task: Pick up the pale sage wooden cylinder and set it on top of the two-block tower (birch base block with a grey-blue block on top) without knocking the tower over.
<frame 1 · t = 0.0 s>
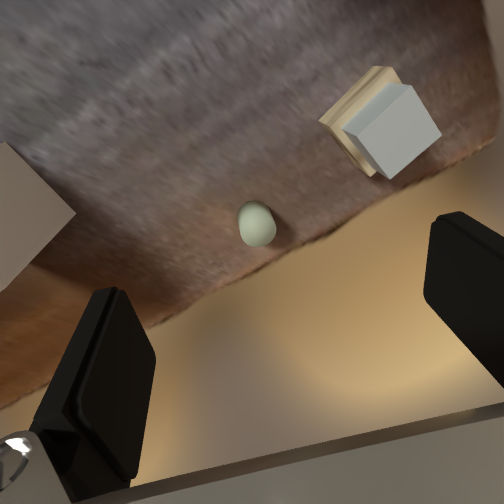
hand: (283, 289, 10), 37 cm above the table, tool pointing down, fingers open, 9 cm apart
sage cylinder: (254, 216, 50), on the table
tower top: (379, 127, 41), point 5 cm above the table
tower base: (363, 119, 45), on the table
milk: (10, 202, 45), on the table
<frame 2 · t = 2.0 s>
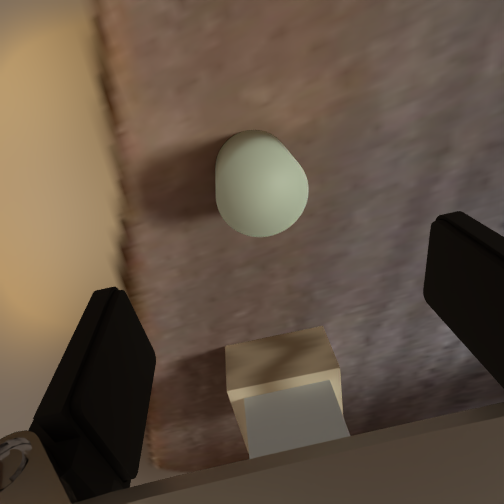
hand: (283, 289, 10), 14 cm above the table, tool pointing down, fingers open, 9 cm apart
sage cylinder: (252, 169, 22), on the table
tower top: (292, 414, 28), point 5 cm above the table, touching tower base
tower base: (280, 366, 32), on the table, touching tower top
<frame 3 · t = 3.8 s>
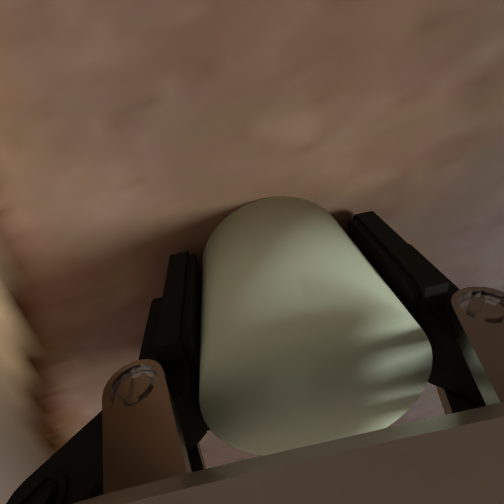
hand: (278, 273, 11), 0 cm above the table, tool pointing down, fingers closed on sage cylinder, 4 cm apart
sage cylinder: (275, 265, 11), on the table, touching gripper
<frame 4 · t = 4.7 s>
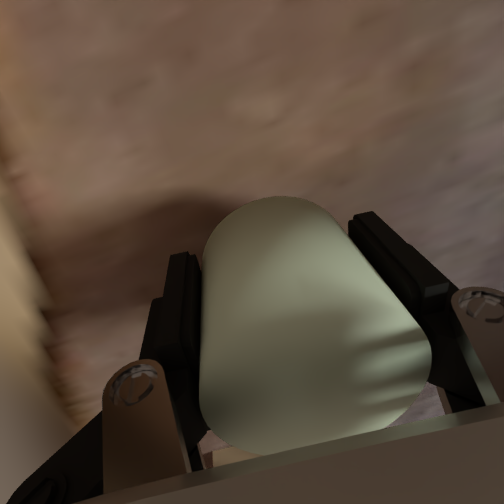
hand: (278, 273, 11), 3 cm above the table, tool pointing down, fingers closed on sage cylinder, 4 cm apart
sage cylinder: (275, 265, 11), point 3 cm above the table, touching gripper
tower base: (287, 464, 24), on the table
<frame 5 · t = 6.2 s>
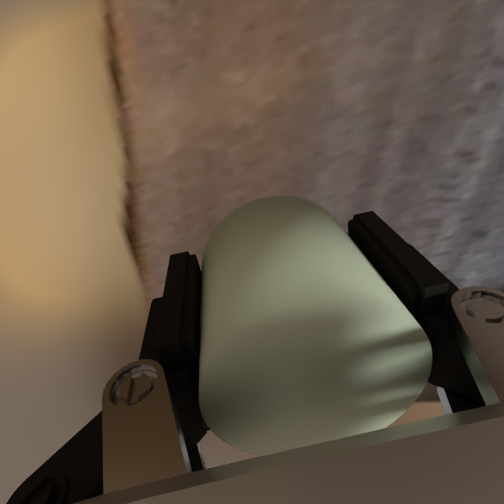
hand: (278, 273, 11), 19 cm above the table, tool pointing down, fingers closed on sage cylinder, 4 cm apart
sage cylinder: (275, 264, 11), point 19 cm above the table, touching gripper
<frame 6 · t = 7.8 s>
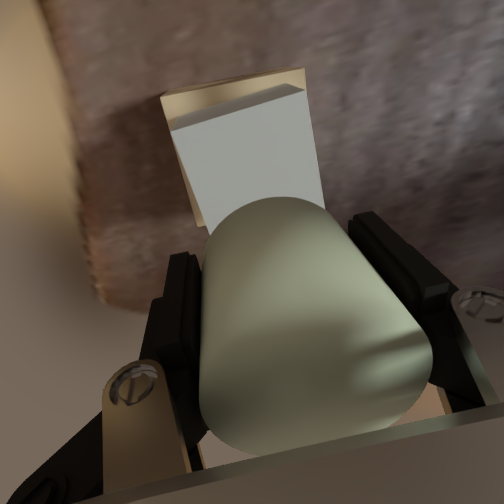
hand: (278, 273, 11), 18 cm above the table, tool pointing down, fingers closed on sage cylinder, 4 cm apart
sage cylinder: (275, 265, 11), point 18 cm above the table, touching gripper
tower top: (246, 154, 22), point 5 cm above the table, touching tower base
tower base: (239, 139, 27), on the table, touching tower top
when the fingers open (12 cm above the table, at t = 9.3 s): sage cylinder drops 1 cm, resting on tower top.
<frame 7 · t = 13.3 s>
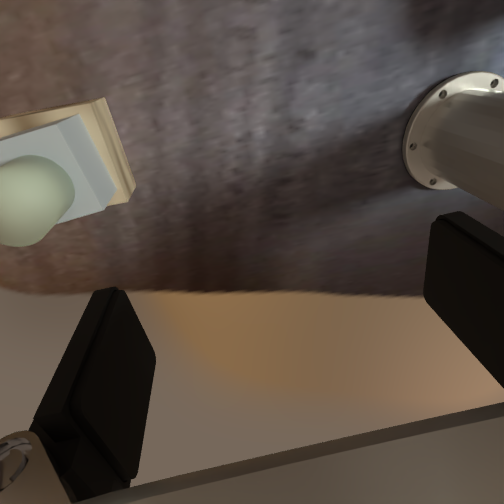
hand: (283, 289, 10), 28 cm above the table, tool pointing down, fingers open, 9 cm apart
sage cylinder: (40, 187, 26), point 10 cm above the table, touching tower top
tower top: (62, 164, 30), point 5 cm above the table, touching sage cylinder
tower base: (79, 152, 34), on the table
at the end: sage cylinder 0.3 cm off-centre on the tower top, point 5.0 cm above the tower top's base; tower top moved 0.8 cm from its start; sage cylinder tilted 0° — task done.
